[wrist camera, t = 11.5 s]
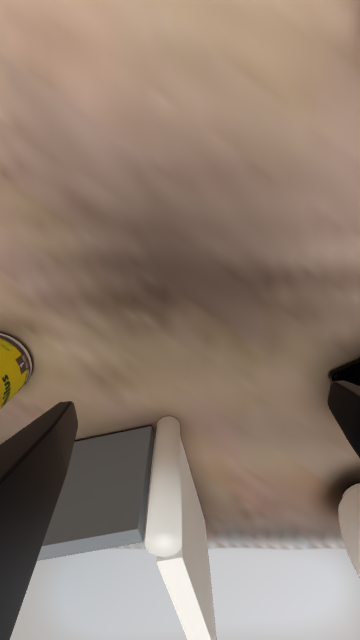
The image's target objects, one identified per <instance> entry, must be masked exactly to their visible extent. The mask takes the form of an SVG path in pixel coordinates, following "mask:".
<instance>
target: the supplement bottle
mask: <svg viewBox="0 0 360 640" xmlns="http://www.w3.org/2000/svg"><path fill="white" fill-rule="evenodd" d="M31 371H32V363H31V358H30V356H29V353H28V352H27V350H26V349H25V347H24V346H23V345H22V344H21V343H20V342H18V341H17V340H15V339H14V338H12V337H10V336H8V335H5V334H1V333H0V409H1V408H2V407H3V406H4V405H5V404H6V403H7V402H8V401H9V400H10V399H11V398H12V397H13V396H14V395H15V394H16V393H17V392H18V391H19V390H20V389H21V388H22V387H23V386H24V385H25V384H26V382H27V381H28V379H29V377H30V375H31Z"/></svg>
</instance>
